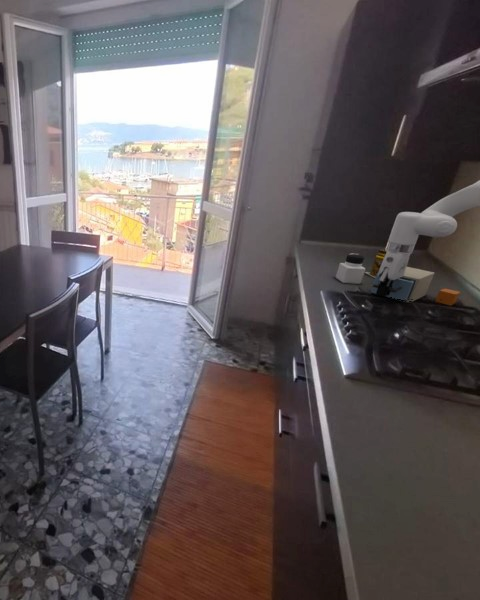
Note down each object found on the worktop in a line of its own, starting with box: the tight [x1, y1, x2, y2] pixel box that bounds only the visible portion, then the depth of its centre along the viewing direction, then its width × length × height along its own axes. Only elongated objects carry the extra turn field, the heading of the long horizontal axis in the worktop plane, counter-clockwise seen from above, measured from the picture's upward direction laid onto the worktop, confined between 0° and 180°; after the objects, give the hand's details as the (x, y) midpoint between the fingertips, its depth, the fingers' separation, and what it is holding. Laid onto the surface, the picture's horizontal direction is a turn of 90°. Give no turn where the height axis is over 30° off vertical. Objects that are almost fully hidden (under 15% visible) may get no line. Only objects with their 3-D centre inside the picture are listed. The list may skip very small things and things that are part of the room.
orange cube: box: [435, 288, 461, 306], centre depth 135 cm, size 5×5×5 cm
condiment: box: [364, 248, 387, 278], centre depth 162 cm, size 7×8×12 cm
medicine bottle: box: [335, 253, 367, 285], centre depth 155 cm, size 7×7×12 cm
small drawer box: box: [402, 266, 435, 303], centre depth 142 cm, size 15×13×10 cm
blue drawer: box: [370, 274, 416, 303], centre depth 138 cm, size 20×11×8 cm, turn 121°
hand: (382, 294), depth 135 cm, fingers closed
